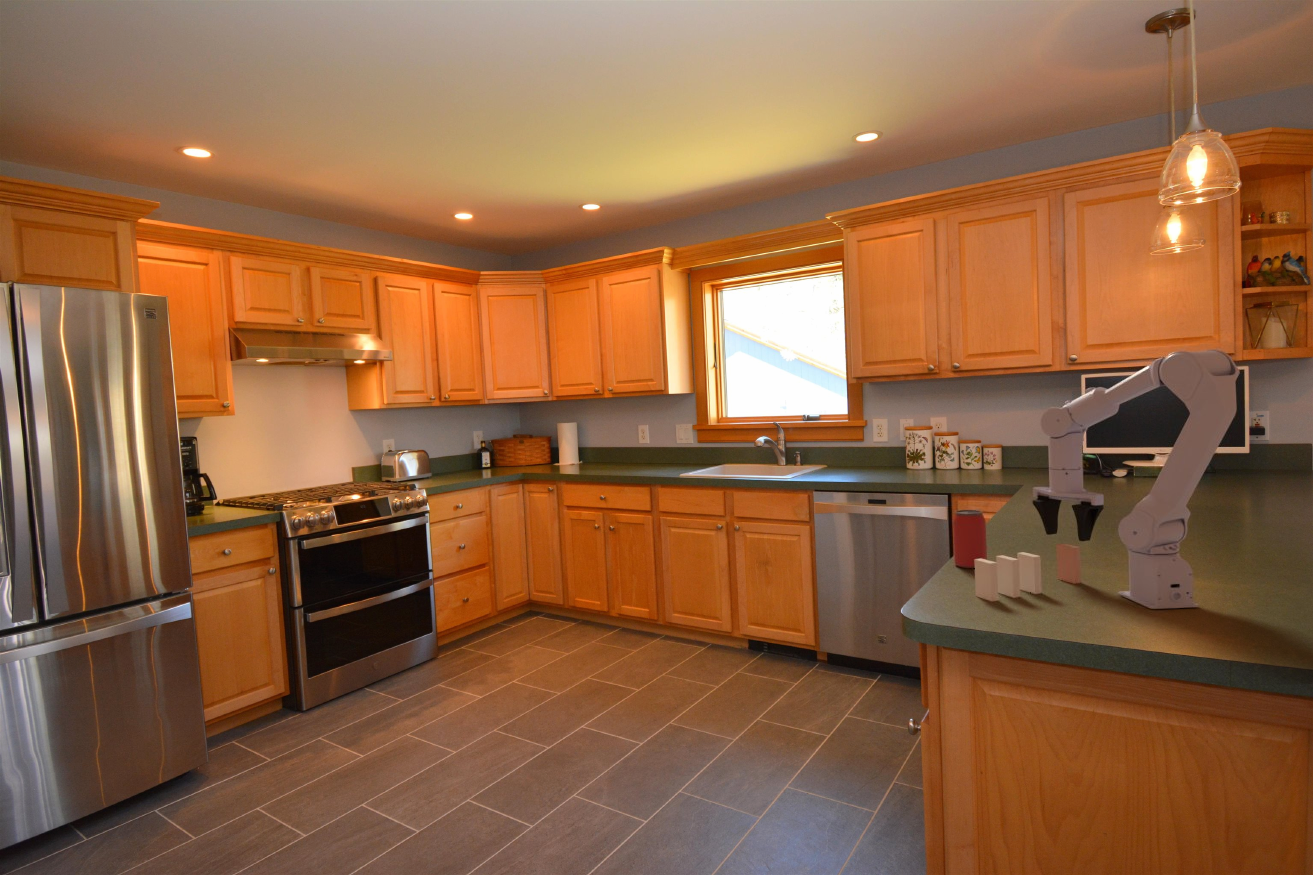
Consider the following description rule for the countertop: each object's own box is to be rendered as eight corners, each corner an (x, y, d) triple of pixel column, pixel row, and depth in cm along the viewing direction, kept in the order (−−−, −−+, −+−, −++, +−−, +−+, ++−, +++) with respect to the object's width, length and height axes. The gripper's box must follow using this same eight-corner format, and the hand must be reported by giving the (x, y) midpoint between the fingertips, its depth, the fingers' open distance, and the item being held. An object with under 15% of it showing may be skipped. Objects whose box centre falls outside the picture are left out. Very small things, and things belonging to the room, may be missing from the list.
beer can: (989, 569, 150) (987, 514, 150) (955, 568, 152) (953, 514, 152) (985, 562, 156) (983, 509, 156) (953, 561, 159) (951, 509, 158)
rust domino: (1063, 578, 140) (1062, 543, 140) (1081, 582, 137) (1080, 547, 136) (1057, 579, 140) (1056, 544, 140) (1075, 583, 136) (1073, 548, 136)
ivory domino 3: (1024, 587, 135) (1023, 552, 135) (1041, 592, 132) (1040, 556, 131) (1018, 588, 135) (1017, 553, 135) (1035, 594, 131) (1034, 557, 131)
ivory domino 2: (1003, 591, 134) (1002, 555, 134) (1020, 596, 130) (1018, 559, 130) (997, 592, 133) (996, 556, 133) (1013, 597, 130) (1012, 560, 129)
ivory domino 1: (982, 594, 132) (980, 558, 132) (998, 600, 129) (997, 562, 128) (975, 596, 132) (974, 559, 132) (991, 601, 128) (990, 563, 128)
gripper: (1115, 469, 131) (1117, 541, 132) (1051, 464, 145) (1052, 529, 146) (1086, 472, 129) (1088, 545, 130) (1023, 467, 143) (1025, 532, 144)
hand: (1067, 537), depth 138 cm, fingers open, 7 cm apart
